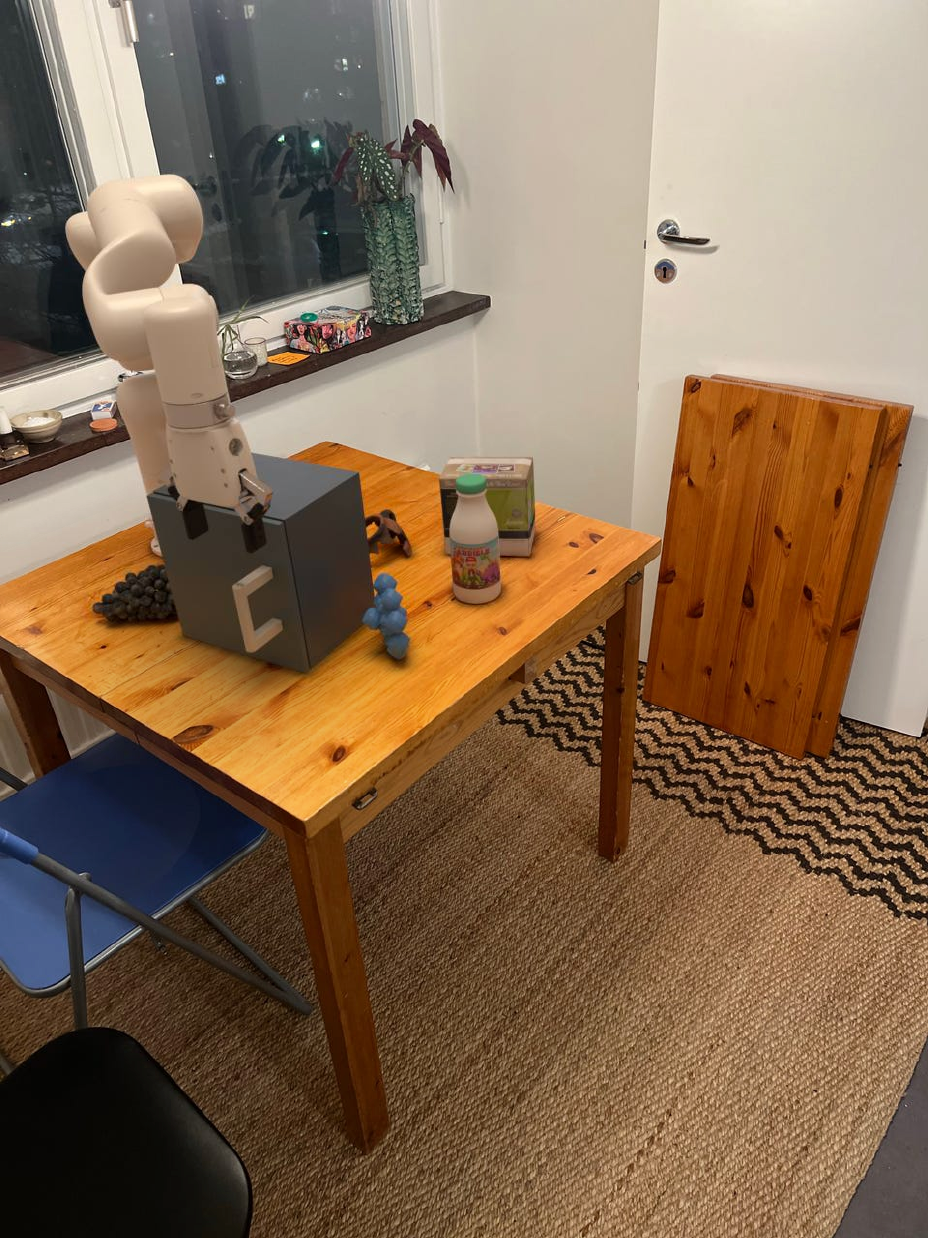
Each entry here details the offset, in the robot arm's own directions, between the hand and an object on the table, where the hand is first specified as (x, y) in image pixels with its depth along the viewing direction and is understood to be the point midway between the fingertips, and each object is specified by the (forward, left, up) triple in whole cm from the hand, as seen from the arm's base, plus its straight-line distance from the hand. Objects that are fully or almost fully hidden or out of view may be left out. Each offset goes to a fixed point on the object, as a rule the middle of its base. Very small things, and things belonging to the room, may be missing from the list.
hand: (227, 541), depth 115 cm
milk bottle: (+15, +37, -24) cm, 46 cm away
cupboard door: (-9, +3, -24) cm, 25 cm away
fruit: (-31, +9, -24) cm, 40 cm away
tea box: (+9, +53, -24) cm, 58 cm away
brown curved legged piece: (-7, +43, -24) cm, 49 cm away
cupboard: (-9, +16, -24) cm, 30 cm away
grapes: (+11, +17, -24) cm, 31 cm away
